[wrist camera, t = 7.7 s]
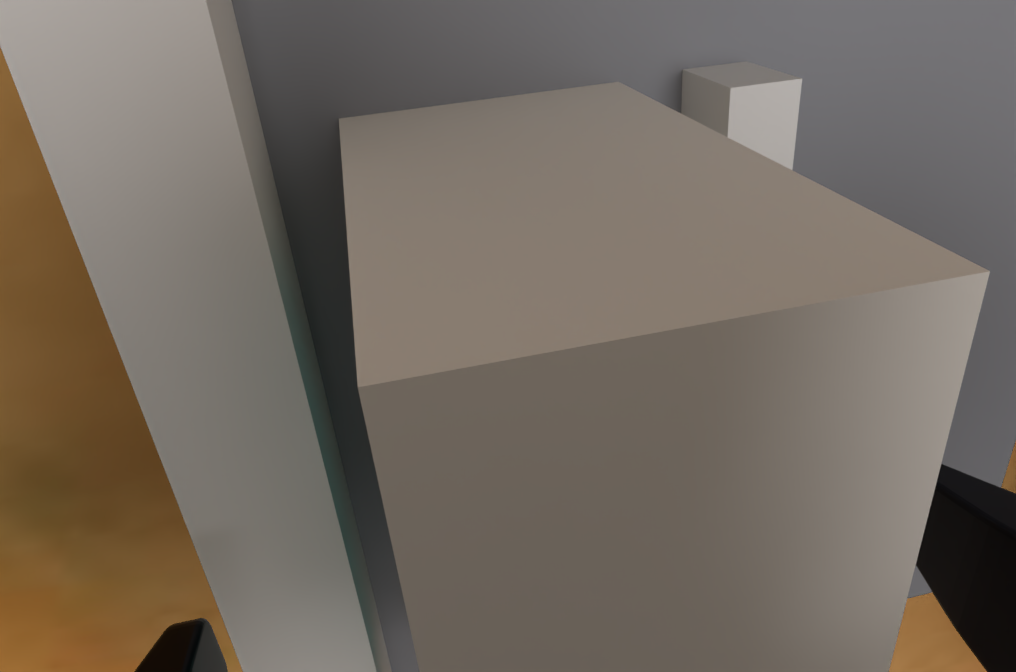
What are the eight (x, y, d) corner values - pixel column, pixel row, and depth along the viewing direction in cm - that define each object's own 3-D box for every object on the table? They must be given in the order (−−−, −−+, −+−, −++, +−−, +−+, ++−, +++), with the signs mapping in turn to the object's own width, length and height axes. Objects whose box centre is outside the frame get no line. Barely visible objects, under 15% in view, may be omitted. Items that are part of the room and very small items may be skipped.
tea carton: (618, 81, 11) (990, 271, 5) (623, 576, 16) (811, 978, 10) (335, 119, 10) (348, 389, 4) (432, 620, 15) (503, 1079, 9)
